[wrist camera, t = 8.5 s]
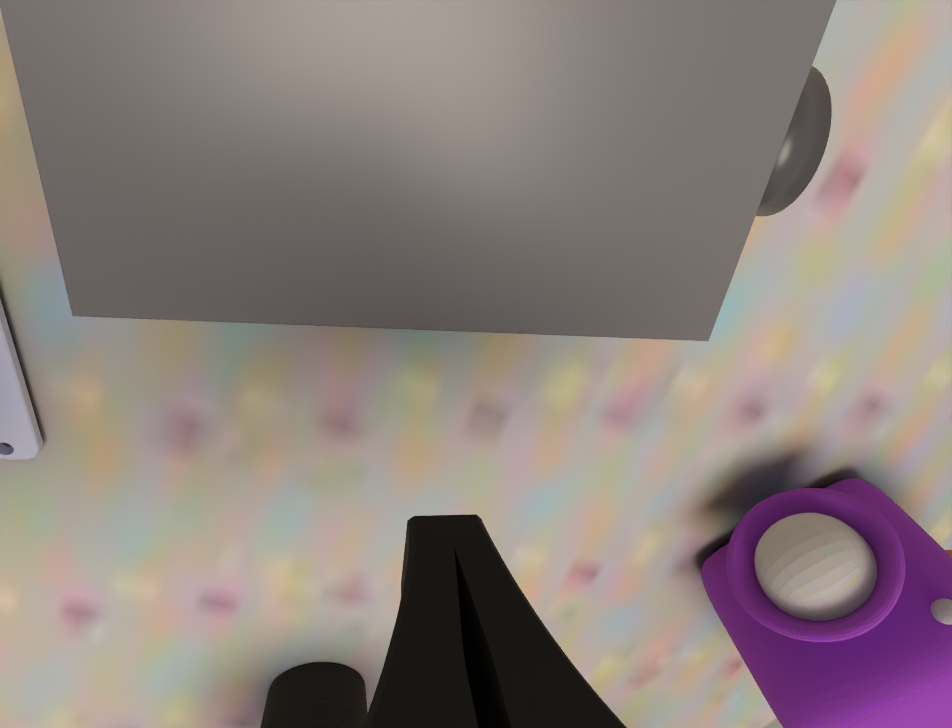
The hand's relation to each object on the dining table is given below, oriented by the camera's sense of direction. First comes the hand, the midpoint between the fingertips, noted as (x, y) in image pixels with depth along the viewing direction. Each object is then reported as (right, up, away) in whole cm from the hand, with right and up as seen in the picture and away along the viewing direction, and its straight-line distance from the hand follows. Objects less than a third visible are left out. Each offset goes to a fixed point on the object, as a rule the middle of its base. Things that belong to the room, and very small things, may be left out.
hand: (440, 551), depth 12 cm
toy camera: (+16, -5, +19) cm, 26 cm away
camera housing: (-1, +11, +5) cm, 13 cm away
